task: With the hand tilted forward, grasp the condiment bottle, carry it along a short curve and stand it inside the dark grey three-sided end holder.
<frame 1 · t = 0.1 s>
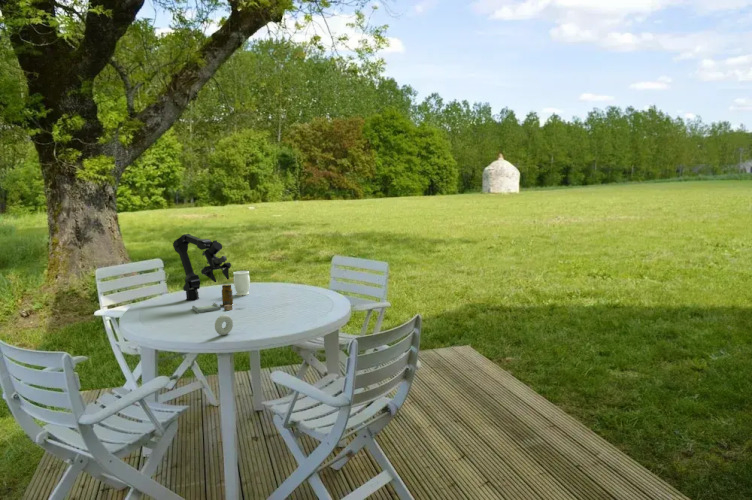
hand: (222, 280, 333), 15 cm above the table, tool tilted 35°, fingers open, 9 cm apart
jar: (242, 294, 363), on the table
holder: (206, 309, 325), on the table
condiment: (228, 305, 335), on the table
donut: (224, 335, 270), on the table
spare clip: (228, 309, 322), on the table
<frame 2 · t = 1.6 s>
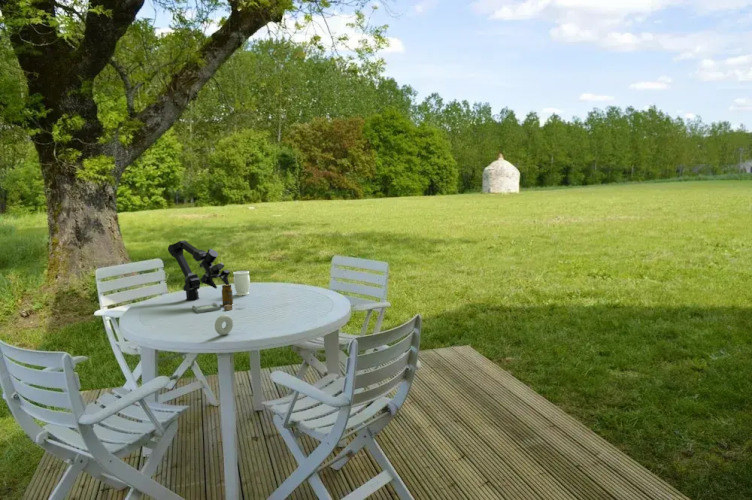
hand: (222, 286, 335), 11 cm above the table, tool tilted 45°, fingers open, 9 cm apart
nothing on the table moved.
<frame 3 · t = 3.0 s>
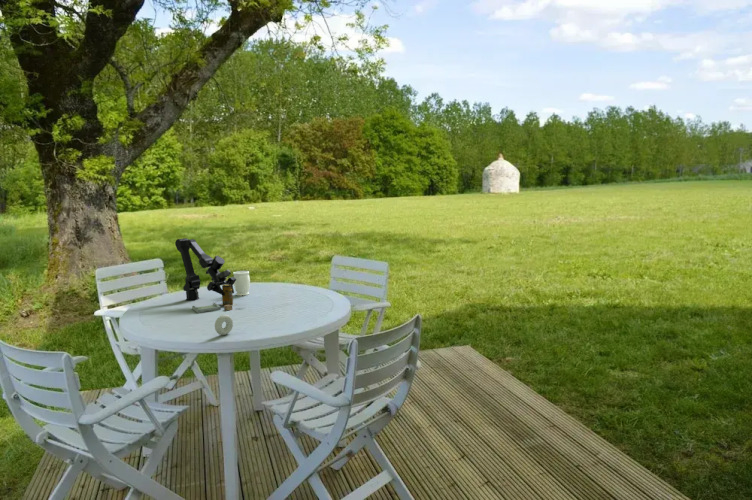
hand: (229, 294, 333), 7 cm above the table, tool tilted 45°, fingers open, 7 cm apart
condiment: (228, 305, 335), on the table, touching gripper
everything else where it was.
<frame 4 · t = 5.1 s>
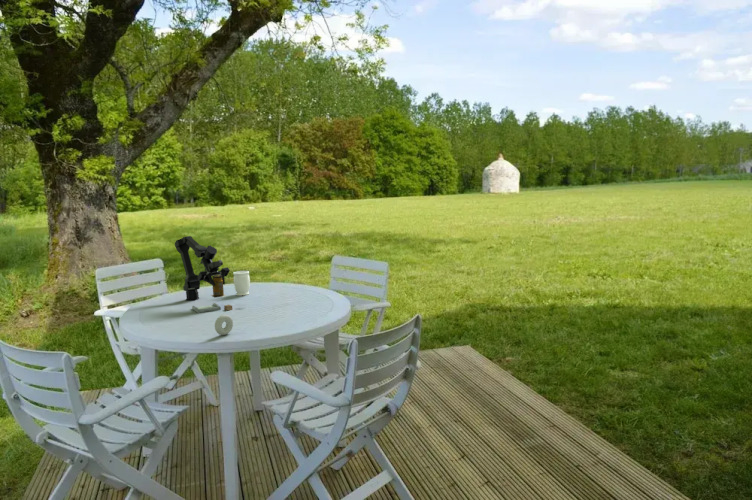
hand: (219, 285, 328), 13 cm above the table, tool tilted 45°, fingers closed on condiment, 6 cm apart
condiment: (218, 296, 329), point 6 cm above the table, touching gripper
everything else where it was.
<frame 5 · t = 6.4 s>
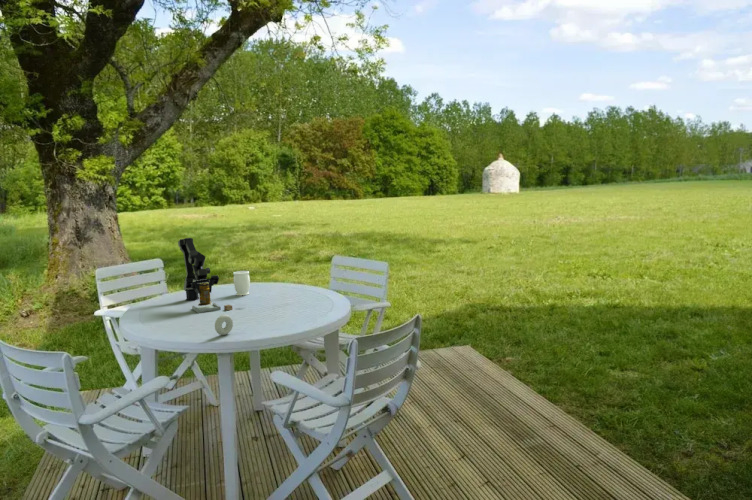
hand: (205, 293, 323), 10 cm above the table, tool tilted 45°, fingers closed on condiment, 6 cm apart
condiment: (205, 304, 325), point 3 cm above the table, touching gripper
everything else where it was.
when the fingers open (8 cm above the table, at t = 7.2 s): condiment stays where it is, resting on holder.
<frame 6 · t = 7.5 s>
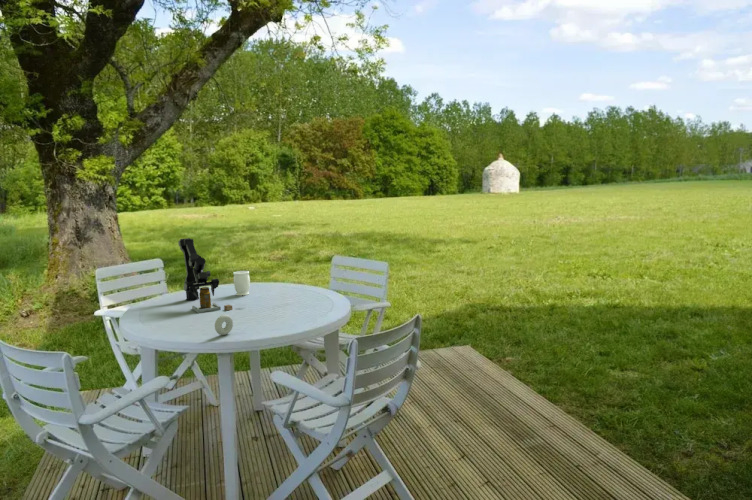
hand: (205, 296, 323), 8 cm above the table, tool tilted 45°, fingers open, 9 cm apart
condiment: (205, 308, 325), resting on holder
everything else where it was.
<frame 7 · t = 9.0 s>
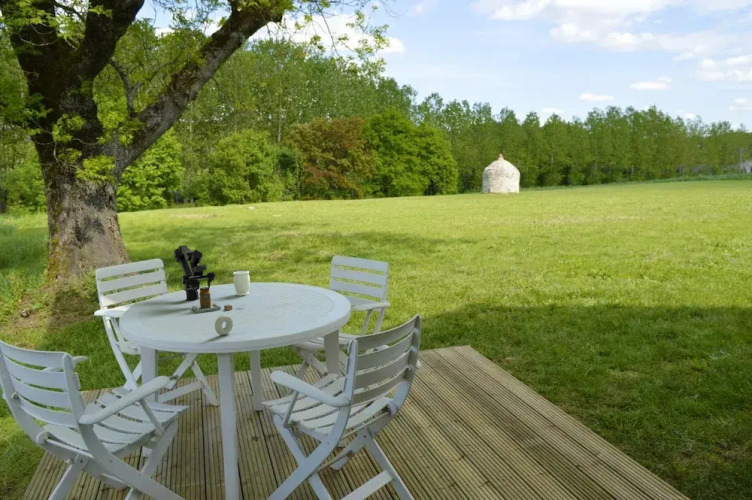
hand: (201, 289, 332), 10 cm above the table, tool tilted 45°, fingers open, 9 cm apart
nothing on the table moved.
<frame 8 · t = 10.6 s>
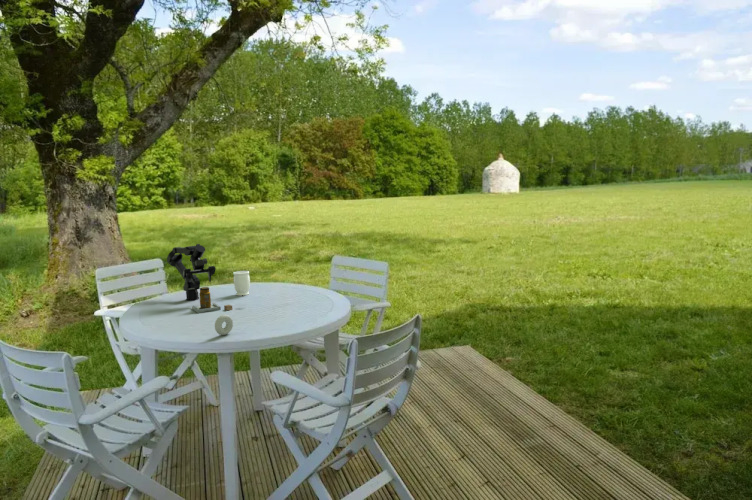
hand: (202, 282, 335), 14 cm above the table, tool tilted 45°, fingers open, 9 cm apart
nothing on the table moved.
at the end: condiment inside the target area on the holder (0.4 cm from its centre), point 0.4 cm above the holder's base; condiment tilted 0°; the gripper is holding nothing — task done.
